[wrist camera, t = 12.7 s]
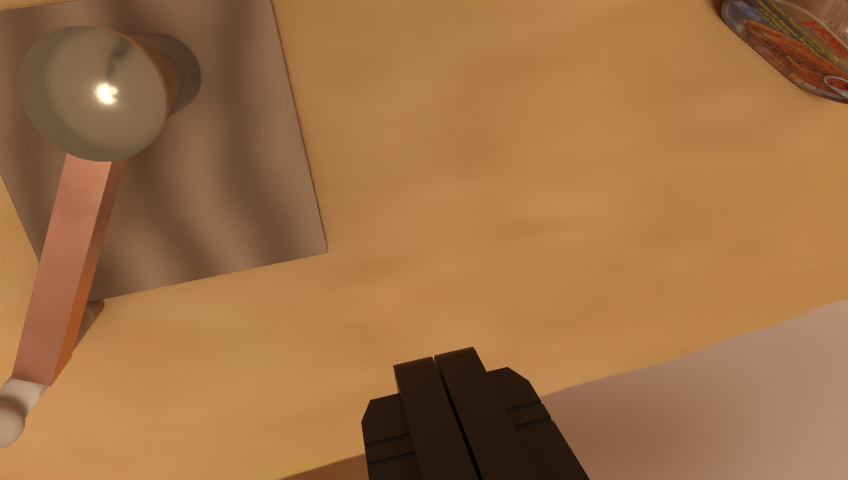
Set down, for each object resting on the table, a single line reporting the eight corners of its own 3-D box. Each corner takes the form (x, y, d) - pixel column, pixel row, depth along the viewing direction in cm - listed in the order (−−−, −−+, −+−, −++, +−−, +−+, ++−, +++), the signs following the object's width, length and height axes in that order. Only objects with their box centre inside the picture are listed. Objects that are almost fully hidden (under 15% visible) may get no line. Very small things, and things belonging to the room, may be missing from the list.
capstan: (124, 8, 36) (34, 2, 24) (220, 47, 38) (180, 59, 26) (53, 282, 41) (-50, 388, 29) (141, 305, 43) (77, 414, 31)
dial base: (265, -25, 39) (240, -54, 24) (332, 268, 47) (343, 378, 32) (-53, 21, 36) (-294, 20, 22) (76, 322, 44) (-35, 467, 30)
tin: (699, 2, 45) (780, -2, 37) (724, -35, 44) (812, -47, 37) (813, 103, 50) (906, 118, 42) (838, 71, 49) (936, 80, 42)
